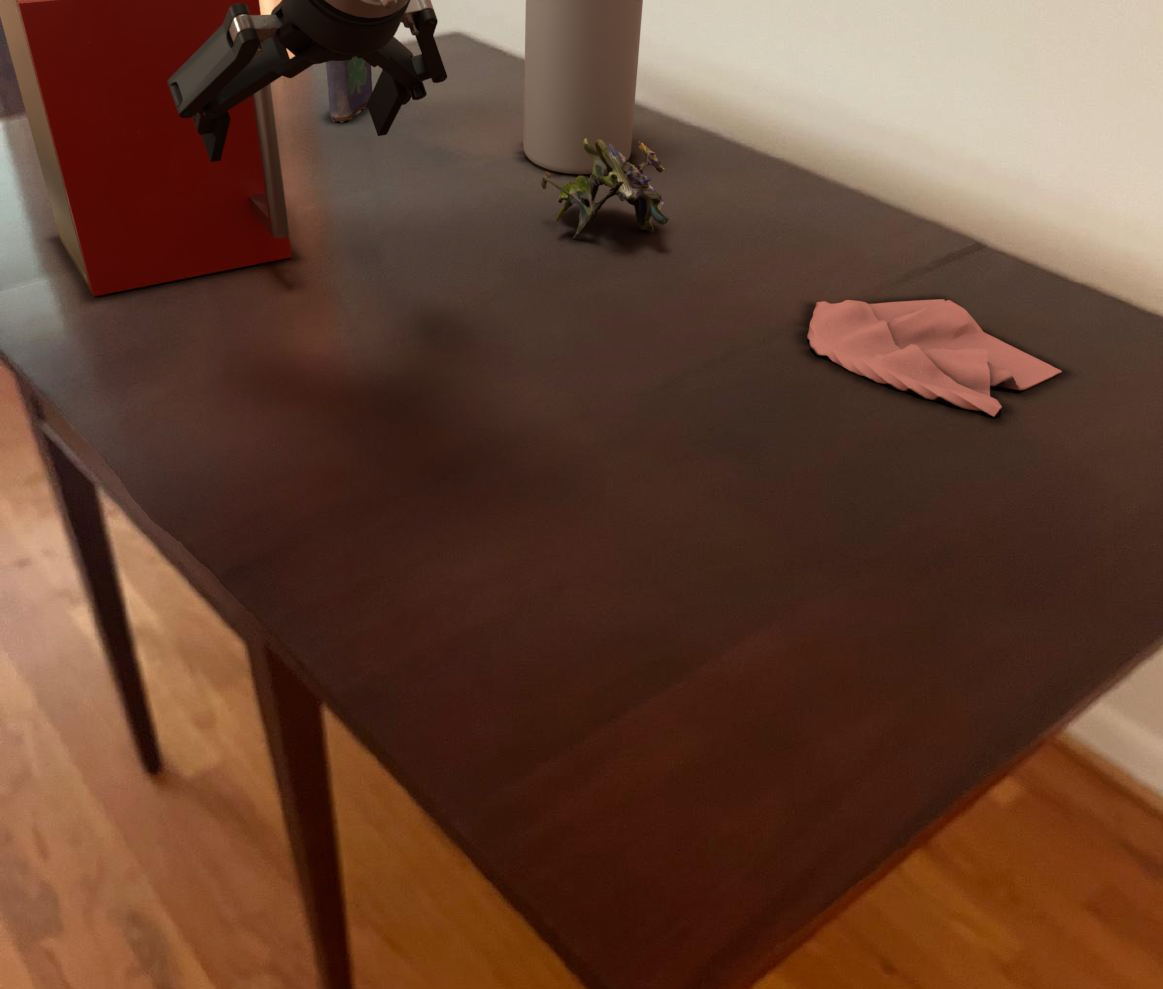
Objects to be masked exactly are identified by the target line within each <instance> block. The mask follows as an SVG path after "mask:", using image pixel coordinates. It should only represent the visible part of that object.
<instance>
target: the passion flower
mask: <svg viewBox="0 0 1163 989" xmlns="http://www.w3.org/2000/svg"><path fill="white" fill-rule="evenodd" d="M583 143H584V149H585V151H586V152H587V153H588V154H589V155H590V156H591V157H592V159H593V162H594V166H593V173H592V174H589V178H588V176H586V175H578V176H577V177H576V178H575V179H574V180H573V181H567V182H565V184H563V185H562V186H560V185H558V184H557V183H556V182H555V181H554V180H551V179H550V178H551V177H552V174H551V173H550V172H548V171H545V172H543V176H542V181H541V183H540V185H541V188H542V190H546V189H547V184H548V183H550V184H551V185H553V186H554V187H555V188H556V189H558V190H560V192H559V196H558V199H557V202H558V203H559V204H562V203H563V201H565V202H564V204H563V206H562V208H560V209H559V211H558V212H557V214H556V219H555V222H557V223H558V222H559V220H561V218H562V217H563V215H564V214H565V213H566V212H567V211H568V209H570V208H571V207H573V205H574V204H577V205H578V206H579V216H578V224H577V225H578V226H577V229H576V231H575V234H574V235H573V237H572V239H573V240H575V239H576V238H577V237H578V236H579V235H580V233H581V231H582V230H583V229H584V228H585V226H586V227H587V226H588V225H589V224H590V223H591V222H593V221H594V220H595V218H596V217H597V216H598V214H597V213H598V211H599V210H600V209H601V208H602V207H603V205H604V204H605V203H606V201H607V200H609V199H610V198H612V197H614V196H618V199H619V201H621V202H624V201H626V202H627V203H628V205H631V206H633V207H634V211H635V218H636V219H635V220H636V223H637V225H638V226H639V229H640V230H643V231H647V232H650V233H651V234H653V233H654V232H655V229H654V227H653V224H652V219H653V220H654V221H655V222H656V223H657V224H658V225H661V226H664V225H666V224H668V221H669V220H670V218H669V217H668V216H667V215H665V213H663V212H662V211H661V210H662V208H663V207H664V205H665V202H664V199H663V197H662V194H660V193H659V191H658V190H655V189H654V187H653V186H651V185H650V183H649V182H652V178H650V177H647V175H644V172H643V170H644V169H645V168H646V167H648V166H652V167H654V169H655V170H656V171H657V172H659V173H663V171H664V172H665V171H666V169H665V168H664V167H663V165H662V163H661V161H660V159H659V158H658V157H657V153H656V152H655V151H654V150H652V149H651V147H649V146H648V145H647V144H646V143H644V142H642V141H641V140H638V141H637V147H638V148H639V150H640V151H641V153H642V155H643V156H644V158H645V159H644V160H643V161H642V163H640V164H632V163H631V162H630V161H629V159H628V160H627V159H626V158H625V157H624V156H623V155H622V154H621V153H620V152H618V151H617V149H616V148H615V146H612V145H611V143H610V142H608V143H609V148H608V147H607V146H606V145H605V143H604V142H603V141H602V140H598V139H597V141H596V142H595V147H596V149H595V148H593V147H592V146H591V145H589V144H588V142H587V138H586V139H584V141H583ZM603 185H604V186H606V187H608V188H610V189H609V192H608V193H607V194H606V195H605V196H604V197H603V198H601V199H600V200H599V201H598V202H595V199H596V197H597V194H598V191H599V189H600V188H599V187H600V186H603Z"/></svg>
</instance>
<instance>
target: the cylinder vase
mask: <svg viewBox="0 0 1163 989" xmlns="http://www.w3.org/2000/svg"><path fill="white" fill-rule="evenodd" d="M643 3H644V0H525V19H524V20H525V24H524V25H525V26H524V28H525V29H524V85H523V86H524V88H523V141H522V142H523V144H522V146H523V152H524V154H525V156H526V157H527V158H528V160H529V161H531V162H532V163H534V164H535V165H537V166H539V167H541V168H542V169H543V168H544V169H546V170H549V171H552V172H556V173H561V174H568V175H592V173H593V166H594V162H593V159H592V157H591V156H590V155H589V154H588V153H587V152H586V151H585V149H584V143H583V141H584V139H586V138H587V142H588V144H589V145H591V146H592V147H593V148H595V149H596V147H595V142H596V141H597V139H598V140H602V141H603V142H604V143H605V145H606V146H607V147H608V148H609V143H608V142H610V143H611V145H612V146H615V148H616V149H617V151H618V152H620V153H621V154H622V155H623V156H624V157H625V158H626V159H627V160H628V161H629V159H630V157H631V153H632V144H633V143H632V141H633V129H634V117H635V104H636V95H637V94H636V93H637V80H638V78H637V77H638V66H639V55H640V41H641V30H642V29H641V28H642V16H643Z"/></svg>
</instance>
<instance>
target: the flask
mask: <svg viewBox="0 0 1163 989" xmlns="http://www.w3.org/2000/svg"><path fill="white" fill-rule="evenodd" d="M325 69H326V81H327V90H328V104H329V117H330V120H331V121H332V122H334V123H336V122H340V123H342V124H343V123H344V122H346V121H351V120H353V118H354V116H357V115H359V114H360V113H361V112H362V109H363V110H365V109H366V107H368V106H367V103H368V100H369V98H370V96H371V94H372V92H373V80H372V79H373V78H372V76H373V74H372V66H371V65H370V64H369V63H367V62H366V61H365V60H364V59H362V58H360V59H359V58H358V57H356V56H355V57H352V60H345V61H328V62H325Z"/></svg>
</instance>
